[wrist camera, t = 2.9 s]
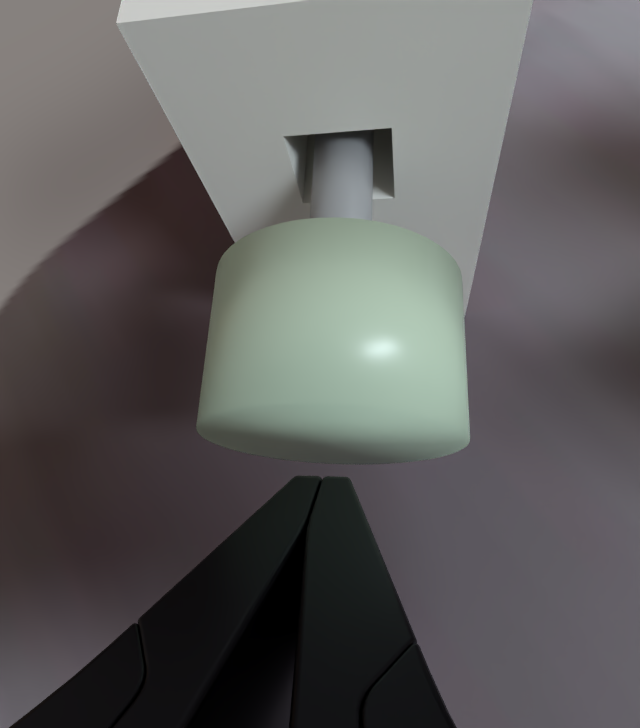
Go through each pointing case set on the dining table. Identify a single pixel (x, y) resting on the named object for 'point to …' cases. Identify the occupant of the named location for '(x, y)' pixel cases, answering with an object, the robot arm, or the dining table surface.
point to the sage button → (337, 332)
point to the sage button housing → (338, 102)
